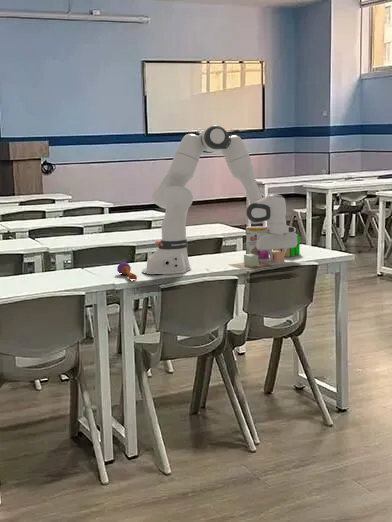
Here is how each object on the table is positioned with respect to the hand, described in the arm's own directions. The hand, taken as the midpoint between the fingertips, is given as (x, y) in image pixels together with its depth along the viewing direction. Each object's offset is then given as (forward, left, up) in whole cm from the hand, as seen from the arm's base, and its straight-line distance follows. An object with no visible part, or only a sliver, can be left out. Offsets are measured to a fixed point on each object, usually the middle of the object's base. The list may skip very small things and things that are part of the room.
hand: (277, 258), depth 330 cm
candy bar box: (-3, +14, -3) cm, 15 cm away
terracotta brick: (0, 0, -2) cm, 2 cm away
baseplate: (-15, -2, -3) cm, 15 cm away
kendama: (-70, +10, -3) cm, 71 cm away
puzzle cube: (+16, +19, -3) cm, 25 cm away
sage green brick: (-15, -2, -1) cm, 15 cm away
